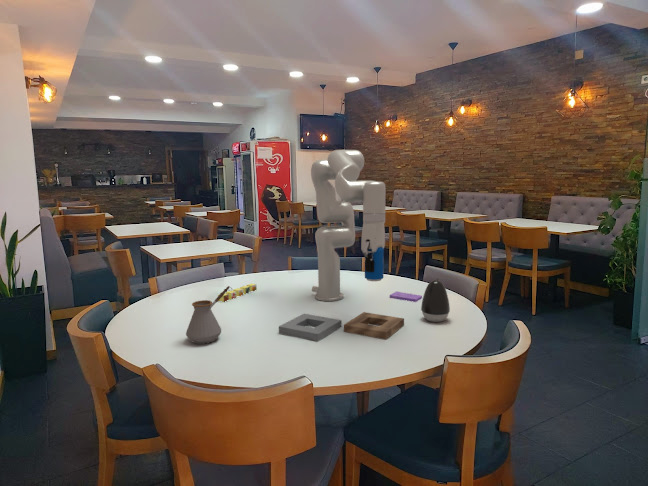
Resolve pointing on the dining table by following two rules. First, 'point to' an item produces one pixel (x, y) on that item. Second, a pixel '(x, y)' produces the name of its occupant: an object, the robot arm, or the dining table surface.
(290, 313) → the dining table surface
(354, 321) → the socket
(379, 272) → the beverage can
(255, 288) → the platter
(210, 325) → the coffee pot
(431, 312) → the black rounded egg shape
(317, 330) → the socket
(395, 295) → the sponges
